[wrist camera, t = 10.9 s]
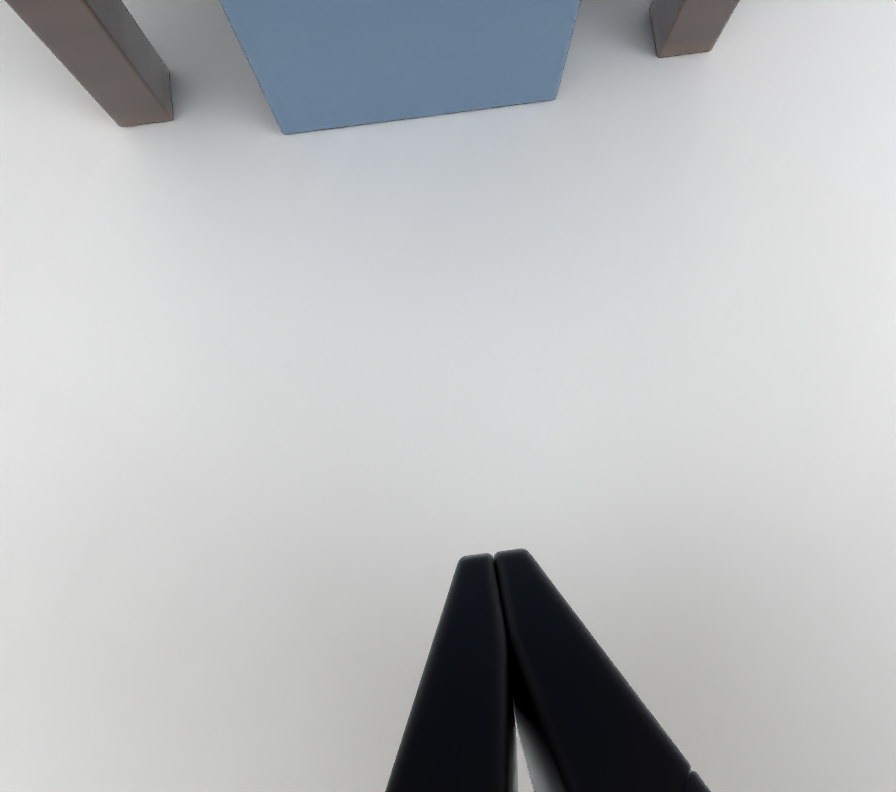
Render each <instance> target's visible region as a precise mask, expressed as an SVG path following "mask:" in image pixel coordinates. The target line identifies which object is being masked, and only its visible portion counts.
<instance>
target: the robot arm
mask: <svg viewBox="0 0 896 792" xmlns="http://www.w3.org/2000/svg"><path fill="white" fill-rule="evenodd" d="M514 712H515V715H514ZM515 718H516V723H517V729H518V733H519V737H520V741H521V745H522V749H523V752H524V756H525V760H526V763H527V767H528V771H529V774H530V778H531V781H532V785H533V789H534V792H711V791H710V790H709V788H708V787H707V786H706V785H705V783H704V782H703V781H702V779H701V778H700V777H699V775H698V774H697V773H696V772H694V771H692V772H690V771H691V765H690V764H689V763H688V761H687V760H686V759H685V757H684V756H683V755H682V753H681V752H680V751H679V749H678V748H677V747H676V745H675V744H674V743H673V742H672V740H671V739H670V738H669V736H668V735H667V734H666V732H665V731H664V730H663V728H662V727H661V726H660V724H659V723H658V722H657V720H656V719H655V718H654V716H653V715H652V714H651V712H650V711H649V710H648V709H647V707H646V706H645V705H644V703H643V702H642V701H641V699H640V698H639V697H638V695H637V694H636V693H635V691H634V690H633V689H632V687H631V686H630V685H629V683H628V682H627V681H626V679H625V678H624V677H623V676H622V674H621V673H620V672H619V670H618V669H617V668H616V666H615V665H614V664H613V662H612V661H611V660H610V658H609V657H608V656H607V654H606V653H605V652H604V650H603V649H602V648H601V646H600V645H599V644H598V643H597V641H596V640H595V639H594V637H593V636H592V635H591V633H590V632H589V631H588V629H587V628H586V627H585V625H584V624H583V623H582V621H581V620H580V619H579V617H578V616H577V615H576V613H575V612H574V611H573V610H572V608H571V607H570V606H569V604H568V603H567V602H566V600H565V599H564V598H563V596H562V595H561V594H560V592H559V591H558V590H557V588H556V587H555V586H554V584H553V583H552V582H551V580H550V579H549V578H548V577H547V575H546V574H545V573H544V571H543V570H542V569H541V567H540V566H539V565H538V563H537V562H536V561H535V559H534V558H533V557H532V555H531V554H530V553H529V552H528V551H527V550H525V549H515V550H507V551H500V552H497V553H496V554H495V555H494V559H493V556H492V555H491V554H488V553H485V554H477V555H469V556H464V557H462V558H461V559H460V560H459V562H458V564H457V567H456V570H455V573H454V577H453V580H452V583H451V586H450V589H449V592H448V595H447V599H446V602H445V605H444V608H443V611H442V614H441V618H440V621H439V624H438V627H437V630H436V633H435V636H434V640H433V643H432V646H431V649H430V652H429V655H428V659H427V662H426V665H425V668H424V671H423V674H422V677H421V681H420V684H419V687H418V690H417V693H416V696H415V699H414V703H413V706H412V709H411V712H410V715H409V718H408V722H407V725H406V728H405V731H404V734H403V737H402V740H401V744H400V747H399V750H398V753H397V756H396V759H395V763H394V766H393V769H392V772H391V775H390V778H389V781H388V785H387V788H386V791H385V792H518V774H517V743H516V726H515Z"/></svg>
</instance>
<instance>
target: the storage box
mask: <svg viewBox="0 0 896 792" xmlns="http://www.w3.org/2000/svg"><path fill="white" fill-rule="evenodd" d="M219 1H220V3H221V5H222V7H223V9H224V11H225V13H226V15H227V17H228V20H229V22H230V24H231V26H232V28H233V30H234V32H235V34H236V36H237V39H238V41H239V43H240V45H241V47H242V49H243V51H244V53H245V55H246V57H247V60H248V62H249V64H250V66H251V68H252V70H253V72H254V74H255V76H256V79H257V81H258V83H259V85H260V87H261V89H262V91H263V93H264V95H265V97H266V100H267V102H268V104H269V106H270V108H271V110H272V112H273V114H274V116H275V118H276V121H277V123H278V125H279V127H280V129H281V131H282V133H283V134H291V133H299V132H307V131H314V130H322V129H330V128H338V127H345V126H353V125H361V124H369V123H376V122H384V121H392V120H400V119H407V118H415V117H423V116H431V115H438V114H446V113H454V112H462V111H469V110H477V109H485V108H493V107H500V106H508V105H516V104H524V103H531V102H539V101H547V100H554V99H556V96H557V92H558V88H559V84H560V80H561V76H562V72H563V68H564V65H565V61H566V57H567V53H568V49H569V45H570V41H571V37H572V33H573V29H574V25H575V21H576V17H577V13H578V9H579V5H580V1H581V0H219Z"/></svg>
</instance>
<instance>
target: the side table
mask: <svg viewBox="0 0 896 792" xmlns="http://www.w3.org/2000/svg"><path fill="white" fill-rule="evenodd" d="M5 1H6V2H7V3H8V4H9V5H10V7H11V8H12V9H13V10H14V11H15V12H16V13H17V14H18V15H19V16H20V18H21V19H22V20H23V21H24V22H25V23H26V24H27V25H28V26H29V27H30V29H31V30H32V31H33V32H34V33H35V34H36V35H37V36H38V37H39V38H40V40H41V41H42V42H43V43H44V44H45V45H46V46H47V47H48V48H49V49H50V51H51V52H52V53H53V54H54V55H55V56H56V57H57V58H58V59H59V60H60V61H61V63H62V64H63V65H64V66H65V67H66V68H67V69H68V70H69V71H70V72H71V74H72V75H73V76H74V77H75V78H76V79H77V80H78V81H79V82H80V83H81V85H82V86H83V87H84V88H85V89H86V90H87V91H88V92H89V93H90V94H91V96H92V97H93V98H94V99H95V100H96V101H97V102H98V103H99V104H100V105H101V107H102V108H103V109H104V110H105V111H106V112H107V113H108V114H109V115H110V116H111V118H112V119H113V120H114V121H115V122H116V123H117V124H118V125H119V126H121V127H123V126H131V125H138V124H146V123H154V122H162V121H170V120H173V111H172V100H171V90H170V79H169V70H168V69H167V67H166V66H165V64H164V63H163V61H162V60H161V58H160V57H159V55H158V54H157V52H156V51H155V49H154V48H153V47H152V45H151V44H150V42H149V41H148V39H147V38H146V36H145V35H144V33H143V32H142V30H141V29H140V27H139V26H138V24H137V23H136V21H135V20H134V18H133V17H132V15H131V14H130V12H129V11H128V9H127V8H126V7H125V5H124V4H123V2H122V1H121V0H5ZM738 2H739V0H653V1H652V3H651V6H650V9H649V10H650V16H651V21H652V27H653V33H654V39H655V44H656V50H657V55H658V57H667V56H675V55H683V54H690V53H698V52H706V51H710V50H711V49H712V48H713V46H714V44H715V42H716V41H717V39H718V37H719V35H720V34H721V32H722V30H723V28H724V27H725V25H726V23H727V21H728V20H729V18H730V16H731V14H732V13H733V11H734V9H735V7H736V6H737V4H738Z"/></svg>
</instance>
